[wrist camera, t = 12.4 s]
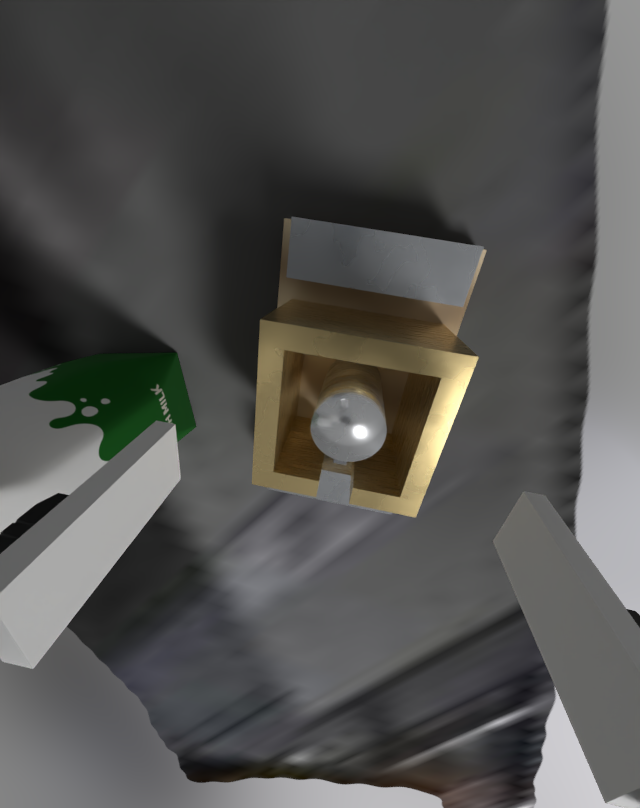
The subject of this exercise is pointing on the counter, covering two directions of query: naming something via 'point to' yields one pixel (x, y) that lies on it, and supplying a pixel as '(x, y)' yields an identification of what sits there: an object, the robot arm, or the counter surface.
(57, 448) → the milk carton
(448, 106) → the counter surface
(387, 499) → the gold square frame
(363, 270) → the grey metal piece
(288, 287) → the bench plate
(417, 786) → the counter surface
